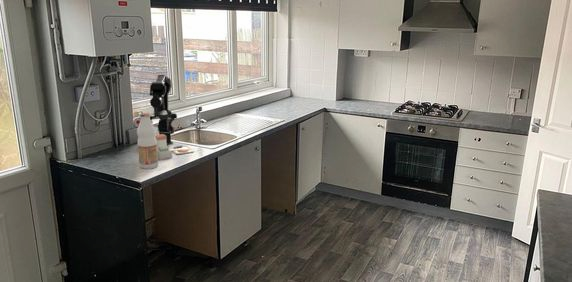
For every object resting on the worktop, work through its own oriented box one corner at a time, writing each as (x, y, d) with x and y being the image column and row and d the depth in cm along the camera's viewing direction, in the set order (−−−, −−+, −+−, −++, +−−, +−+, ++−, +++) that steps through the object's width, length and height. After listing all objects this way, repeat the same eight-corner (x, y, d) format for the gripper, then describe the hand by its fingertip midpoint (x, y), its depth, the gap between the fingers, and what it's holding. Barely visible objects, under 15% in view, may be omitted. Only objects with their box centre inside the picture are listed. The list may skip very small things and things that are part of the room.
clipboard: (169, 150, 254) (169, 147, 253) (185, 147, 259) (185, 144, 259) (177, 155, 244) (177, 152, 244) (193, 152, 250) (193, 149, 249)
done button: (158, 151, 240) (158, 147, 240) (165, 150, 243) (165, 145, 242) (161, 153, 237) (161, 148, 236) (168, 151, 239) (168, 147, 239)
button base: (155, 156, 241) (155, 149, 240) (167, 154, 245) (167, 147, 244) (160, 159, 236) (159, 152, 235) (172, 157, 240) (171, 150, 239)
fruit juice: (137, 169, 220) (132, 115, 213) (142, 163, 229) (138, 112, 222) (155, 169, 220) (151, 115, 213) (160, 163, 229) (156, 112, 222)
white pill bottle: (155, 151, 250) (154, 135, 247) (164, 150, 253) (163, 133, 250) (158, 154, 246) (157, 137, 243) (167, 152, 249) (166, 135, 246)
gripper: (147, 108, 231) (149, 136, 234) (180, 105, 241) (181, 132, 245) (140, 105, 239) (142, 132, 243) (172, 102, 250) (173, 128, 254)
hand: (160, 131), depth 246 cm, fingers open, 9 cm apart
